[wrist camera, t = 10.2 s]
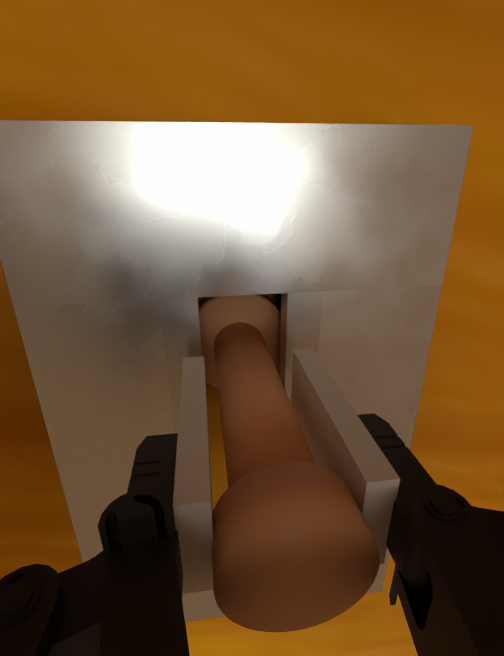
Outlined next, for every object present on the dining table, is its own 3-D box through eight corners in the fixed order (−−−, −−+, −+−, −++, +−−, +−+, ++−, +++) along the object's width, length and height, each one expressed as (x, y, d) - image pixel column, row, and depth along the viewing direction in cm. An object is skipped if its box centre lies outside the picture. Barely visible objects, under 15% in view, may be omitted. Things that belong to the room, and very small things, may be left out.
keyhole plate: (359, 541, 26) (381, 590, 23) (114, 576, 24) (102, 635, 21) (420, 134, 16) (473, 125, 13) (13, 132, 14) (-38, 120, 11)
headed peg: (190, 380, 19) (182, 671, 8) (182, 288, 17) (158, 500, 6) (283, 373, 20) (398, 633, 9) (285, 284, 18) (437, 467, 7)
